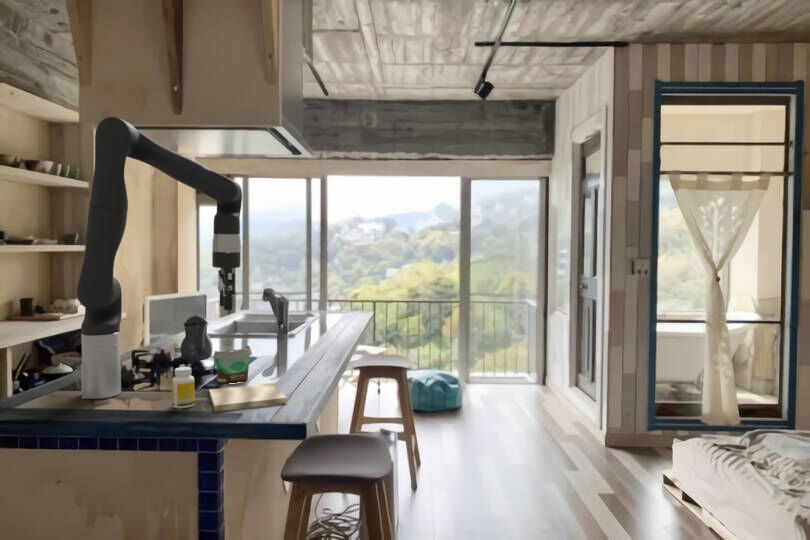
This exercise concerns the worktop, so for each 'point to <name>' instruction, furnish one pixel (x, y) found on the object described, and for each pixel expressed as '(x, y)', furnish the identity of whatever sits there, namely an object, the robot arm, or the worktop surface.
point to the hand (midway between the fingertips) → (225, 308)
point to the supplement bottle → (183, 388)
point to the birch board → (246, 396)
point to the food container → (232, 365)
